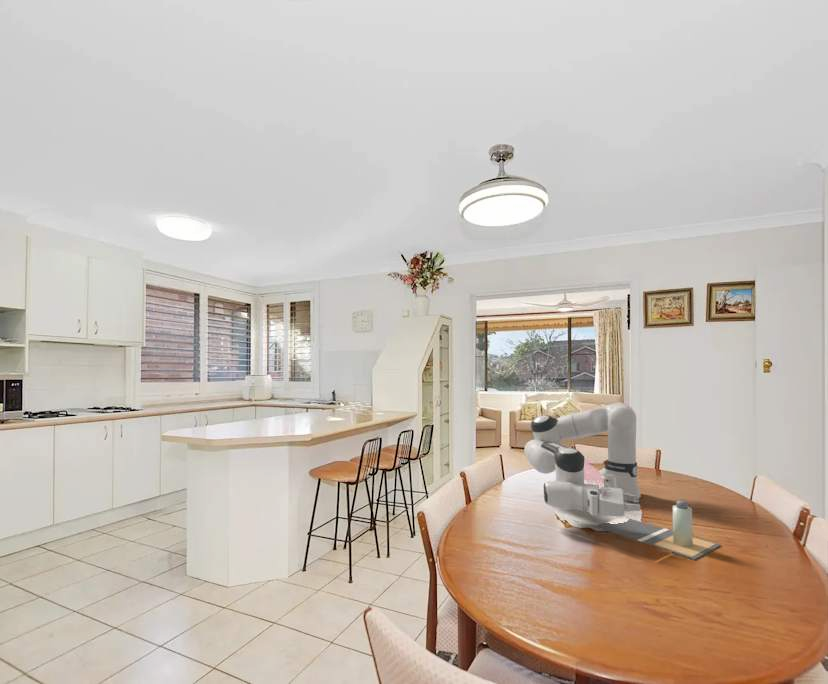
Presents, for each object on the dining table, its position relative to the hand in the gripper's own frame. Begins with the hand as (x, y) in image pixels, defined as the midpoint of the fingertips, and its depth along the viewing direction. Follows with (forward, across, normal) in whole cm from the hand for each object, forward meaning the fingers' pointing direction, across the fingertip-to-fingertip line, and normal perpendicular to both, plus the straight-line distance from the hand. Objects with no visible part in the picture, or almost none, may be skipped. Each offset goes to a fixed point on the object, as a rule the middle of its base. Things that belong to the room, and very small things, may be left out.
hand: (639, 503), depth 146 cm
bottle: (+12, 0, -11) cm, 16 cm away
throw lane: (+4, -5, -11) cm, 13 cm away
